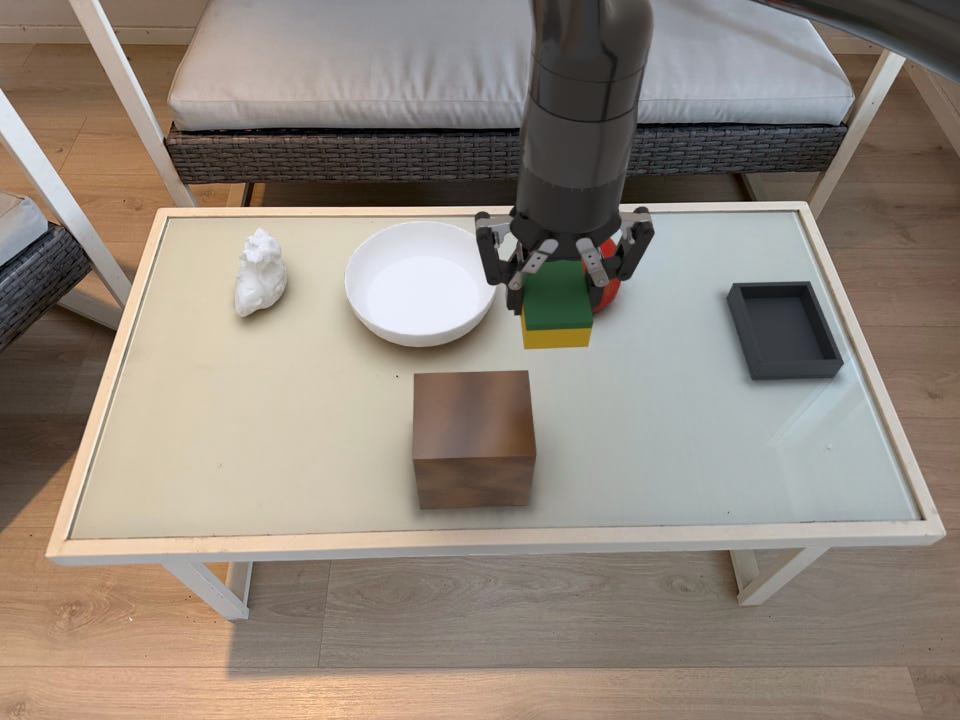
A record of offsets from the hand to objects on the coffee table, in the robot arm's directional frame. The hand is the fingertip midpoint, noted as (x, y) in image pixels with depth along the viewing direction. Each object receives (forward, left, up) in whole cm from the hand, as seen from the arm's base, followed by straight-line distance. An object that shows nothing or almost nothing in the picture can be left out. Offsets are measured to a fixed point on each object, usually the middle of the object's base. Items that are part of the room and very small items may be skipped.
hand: (552, 306), depth 61 cm
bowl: (+24, -6, -25) cm, 35 cm away
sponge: (0, 0, -1) cm, 1 cm away
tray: (-13, -34, -25) cm, 45 cm away
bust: (+41, +7, -25) cm, 49 cm away
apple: (+10, -22, -25) cm, 35 cm away
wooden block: (+3, +7, -25) cm, 26 cm away
